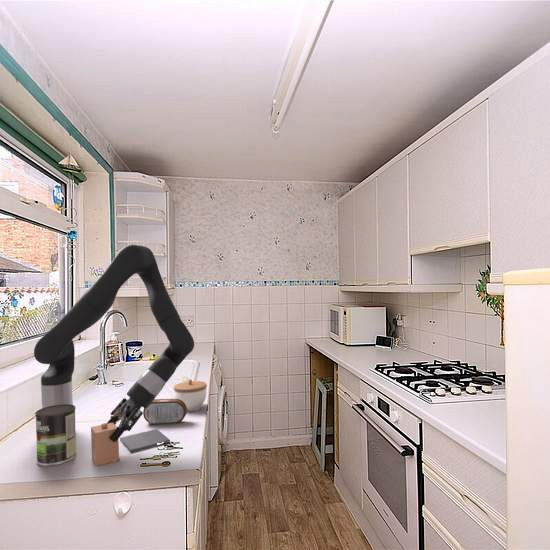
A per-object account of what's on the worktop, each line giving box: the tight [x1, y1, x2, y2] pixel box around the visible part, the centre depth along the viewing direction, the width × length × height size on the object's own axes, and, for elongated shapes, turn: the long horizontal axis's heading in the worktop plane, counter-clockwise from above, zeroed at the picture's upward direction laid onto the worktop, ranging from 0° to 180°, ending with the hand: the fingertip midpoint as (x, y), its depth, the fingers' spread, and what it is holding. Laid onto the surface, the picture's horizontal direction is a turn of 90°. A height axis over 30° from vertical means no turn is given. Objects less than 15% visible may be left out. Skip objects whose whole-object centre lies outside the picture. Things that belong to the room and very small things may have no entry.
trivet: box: [119, 428, 171, 454], centre depth 130 cm, size 12×12×1 cm
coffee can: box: [34, 404, 77, 467], centre depth 120 cm, size 10×10×14 cm
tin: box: [142, 398, 188, 425], centre depth 146 cm, size 15×3×8 cm, turn 92°
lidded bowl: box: [173, 379, 208, 412], centre depth 162 cm, size 13×13×11 cm
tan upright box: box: [90, 422, 120, 467], centre depth 118 cm, size 6×6×10 cm
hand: (108, 435), depth 118 cm, fingers open, 8 cm apart
